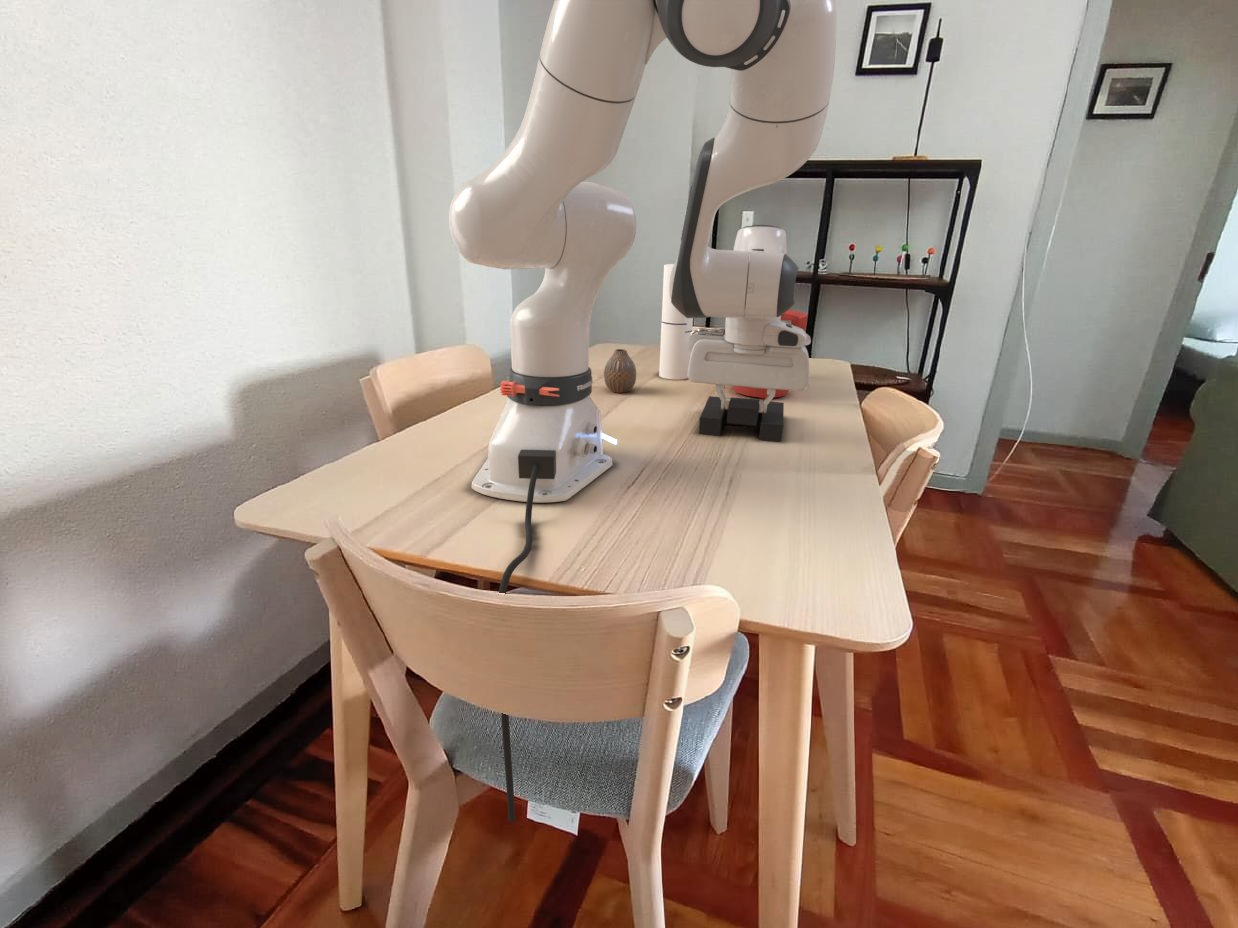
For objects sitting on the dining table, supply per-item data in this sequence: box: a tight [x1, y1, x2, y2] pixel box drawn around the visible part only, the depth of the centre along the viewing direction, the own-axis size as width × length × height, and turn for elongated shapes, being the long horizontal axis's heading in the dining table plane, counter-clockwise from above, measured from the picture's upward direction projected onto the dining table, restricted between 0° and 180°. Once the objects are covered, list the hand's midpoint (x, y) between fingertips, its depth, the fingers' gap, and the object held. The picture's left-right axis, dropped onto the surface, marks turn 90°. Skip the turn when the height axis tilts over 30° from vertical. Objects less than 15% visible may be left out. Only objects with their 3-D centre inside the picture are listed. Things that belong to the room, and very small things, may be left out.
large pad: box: [698, 395, 785, 443], centre depth 110 cm, size 14×14×3 cm
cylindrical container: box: [658, 263, 694, 381], centre depth 140 cm, size 7×7×25 cm
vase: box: [603, 348, 637, 394], centre depth 129 cm, size 7×7×9 cm
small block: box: [727, 396, 761, 426], centre depth 106 cm, size 6×5×3 cm
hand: (743, 410), depth 106 cm, fingers closed on small block, 5 cm apart
